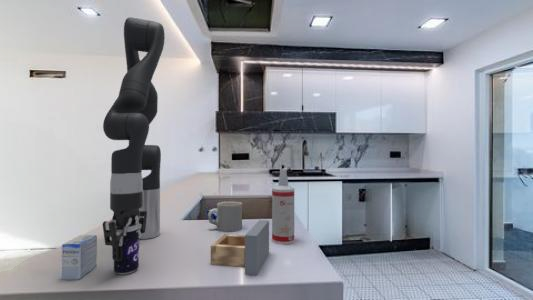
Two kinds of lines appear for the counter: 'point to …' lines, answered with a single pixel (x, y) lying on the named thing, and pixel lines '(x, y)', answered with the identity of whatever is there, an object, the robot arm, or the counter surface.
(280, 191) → the spray bottle
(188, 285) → the counter surface
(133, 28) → the robot arm
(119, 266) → the beverage can
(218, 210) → the coffee mug
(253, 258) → the wall
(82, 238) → the medicine box
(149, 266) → the counter surface
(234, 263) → the wooden box
